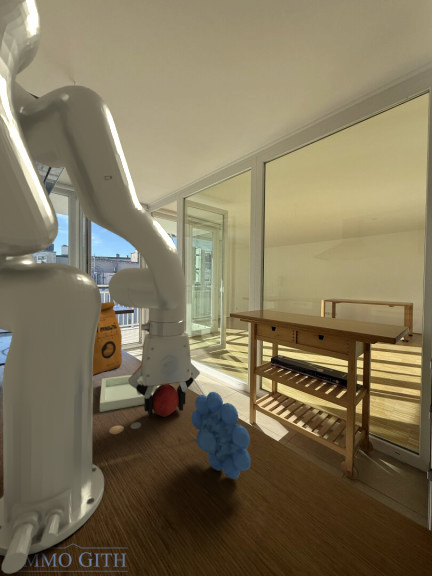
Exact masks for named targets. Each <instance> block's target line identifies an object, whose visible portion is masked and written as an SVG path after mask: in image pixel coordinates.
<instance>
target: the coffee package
mask: <svg viewBox="0 0 432 576" xmlns="http://www.w3.org/2000/svg"><path fill="white" fill-rule="evenodd" d="M115 303H116V302H115V301H107V302H106V301H105V302H101V313H100V318H99V322H98V327H97V331H96V336H95V343H94V353H93V375H97V374H100V373H103V372H108V371H112V370H115V369H117V368H120V367H121V365H122V363H123V361H122V360H123V359H122V356H123V354H122V346H123V345H122V342H123V341H122V338H123V337H122V329H121V327H120V322H119V320H118V319H117V315H116V311H115V309H114V308H115V306H116V304H115Z"/></svg>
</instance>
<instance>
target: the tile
mask: <svg viewBox="0 0 432 576" xmlns="http://www.w3.org/2000/svg"><path fill="white" fill-rule="evenodd" d="M141 427H142V423H141V422H134V423H131V425H130V428H131V429H135V430H136V429H140V428H141ZM124 429H125V428H124V426H123V425H120V424H119V425H114V426H112V427H110V429H109V430H108V432H109V433H110V434H112V435H117V434H120V433H121V432H123V431H124Z"/></svg>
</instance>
